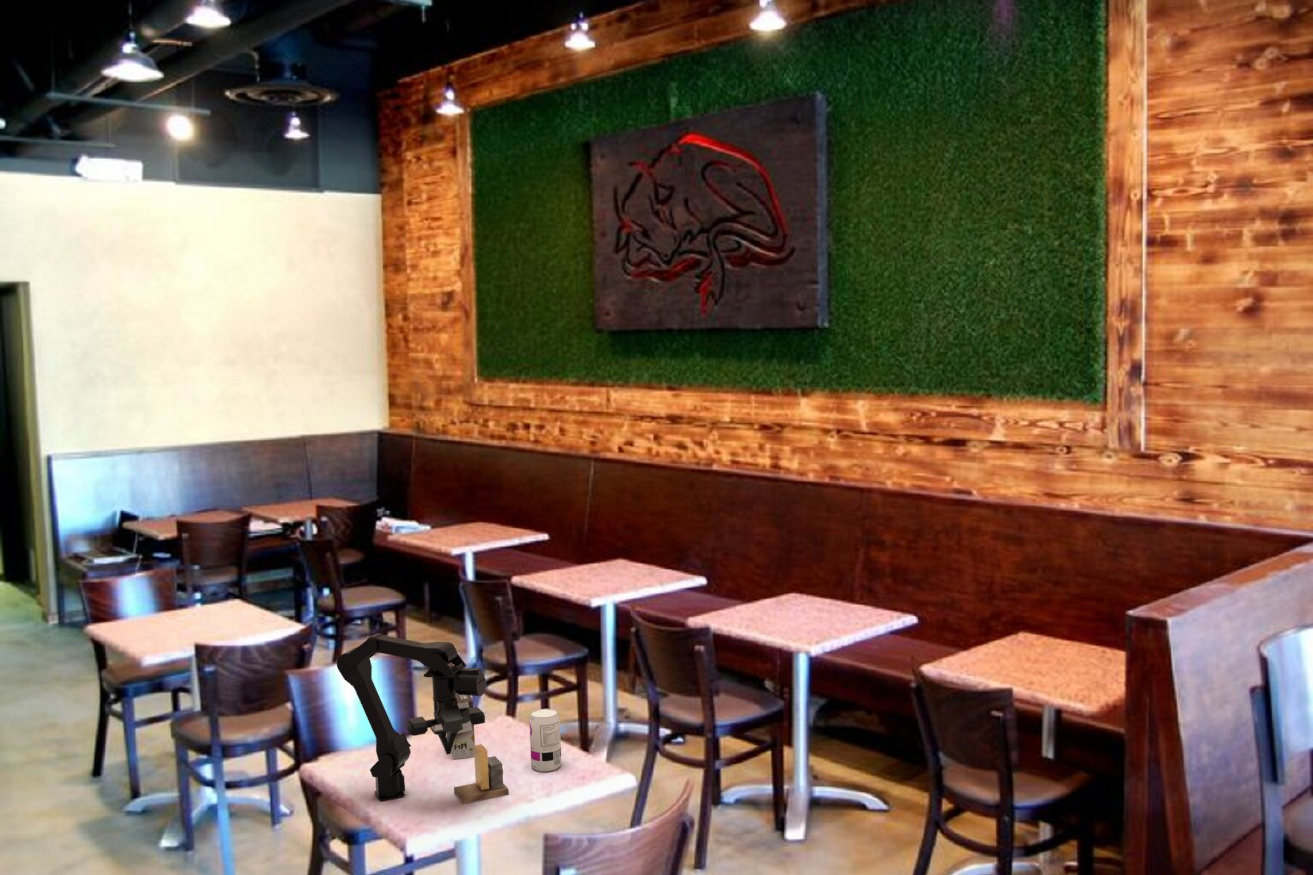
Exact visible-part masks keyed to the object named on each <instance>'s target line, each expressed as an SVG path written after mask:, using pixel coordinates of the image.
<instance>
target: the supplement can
mask: <svg viewBox="0 0 1313 875" xmlns="http://www.w3.org/2000/svg"><path fill="white" fill-rule="evenodd" d="M530 714H531V715H530V716H529V719H528V720H529V742H530V745H529V746H530V747H529V748H530V766H531V768H532V769H533V770H535V771H536V772H541V773H544V772H545V773H546V772H547V773H548V772H553V771H556V770H559V768H560V767H561V765H562V744H561V720H560V715H559V713H558V711H557V710H555V709H551V708H541V709H536V710H533V711H532V712H531V713H530Z"/></svg>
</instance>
